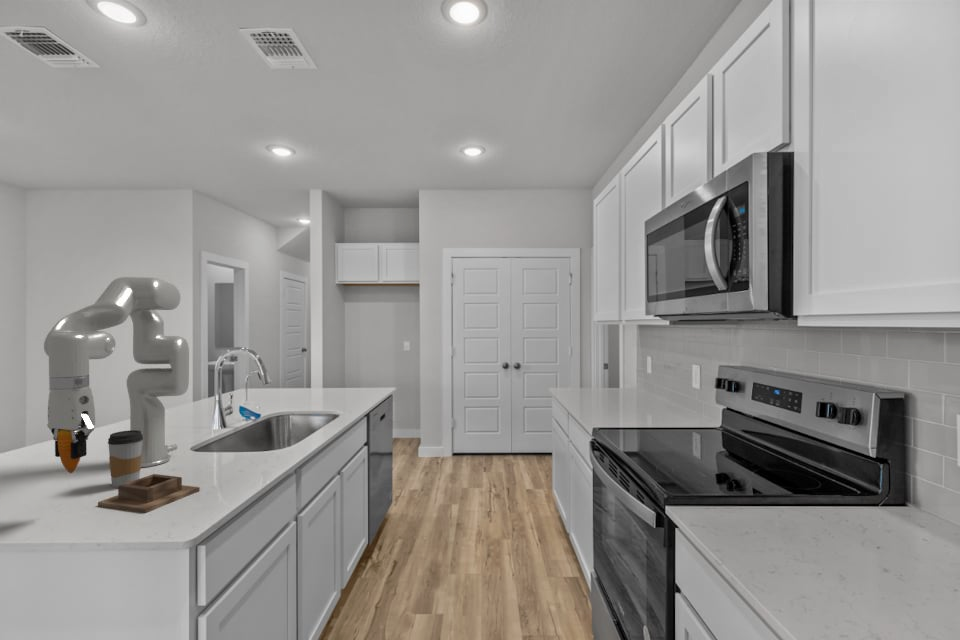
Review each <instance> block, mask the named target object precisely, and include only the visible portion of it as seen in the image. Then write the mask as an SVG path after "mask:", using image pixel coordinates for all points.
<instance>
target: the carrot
mask: <svg viewBox="0 0 960 640" xmlns="http://www.w3.org/2000/svg"><path fill="white" fill-rule="evenodd" d="M78 427H79V428H81V426H78ZM79 428H78V429H79ZM80 432H81V431H77V435H78V434H79V433H80ZM57 440H58V451H59V455H60V457H59V458H60V461H61V464H62V465H63V467H64V469H65V470H66V471H67V472H68V473H69V474H72V473H74V472H75V470H76V469H77V467H78V465H79V463H80V461H81V458H82V457H79V458H76V459H71V443H73V440H72V435H71V430H60V431H59V432H58V434H57ZM57 440H56V441H57Z"/></svg>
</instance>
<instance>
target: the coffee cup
mask: <svg viewBox="0 0 960 640" xmlns="http://www.w3.org/2000/svg"><path fill="white" fill-rule="evenodd" d="M142 440H143V435H142V434H141V431H139V430H123V431H118V432H112V433H111V434H109V438H108V439H107V445H108V454H109V458H108V459H109V471H110V477H111V486H112V487H113V488H114V489H118V486H119V485H122V484H125V483H128V482H131V481H134V480H137V479H140V475H141V474H140V473H141V468H142V467H141V455H142V452H141V450H142Z"/></svg>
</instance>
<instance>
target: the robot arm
mask: <svg viewBox="0 0 960 640" xmlns="http://www.w3.org/2000/svg"><path fill="white" fill-rule="evenodd" d="M180 303H181V292H180V290H179V289H178V288H177V286H175V284H172V283H171V282H168V281H166V280H163V279H159V278H157V277H143V276H139V277H137V276H123V277H117V278H115V279H113V280H112V281H111V283H109V285H108V286H107V287H106V288H105V289H104V291H103V292H102V294H100V296H99V297H98V299H97V300H96V301H95V302H94V303H93V304H91V305H87V306H85V307H83V308H80V309H78V310H76V311H73V312H71V313H69V314H67V315H65V316H64V317H63V318H61V319H59V320H58V321H57V322H56V323H55V324H54V326H53V327H52V328H51V329H50V331H49V332H48V333H47V335H46V337H45V339H44V342H43V351H44V353H45V354H46V356H47V357H48V385H49V388H48V391H49V394H48V403H47V428H48V429H49V430H50V432H51V433H52V435H53V436H52V439H53V441H54V451H55V452H54V454H55V455H54V456H55V457H57V458H60V455H59V451H58V440H57V434H58V432H59V431H60V430H71V435H72V440H73V443H71V459H76V458H79V457H81V458H83V457H85V456H87V440H89V436H90V435H91V433H92V432H94V430H95V427H94V426H95V425H96V410H95V401H94V396H93V392H92V388H91V387H90V360H102V359H106V358H107V357H109V356H111V355H112V354H113V352H114V351H115V349H116V340H115V338H114V336H113V335H112V334H111V333H109V332H107V331H103V330H105V329H106V330H107V329H110V328H113V327H116V326H117V327H118V326H119V325H121V324H123V323H125V322H126V320H127V319H128V317H130V318H131V321H132V330H133V334H132V354H133V355H132V357H133V359H134V361H135V362H136V363H137V364H141V365H170V367H165V368H163V367H162V368H161V367H158V368H157V367H155V368H153V367H151V368H149V367H148V368H139V369H135V370H133V371H132V372H130V373H129V374H128V376H127V378H126V388H127V393H128V398H129V407H130V408H129V409H130V410H129V411H130V412H129V413H130V415H129V416H130V417H129V418H130V420H129V421H130V423H129V425H130V426H129V429H130V430H139V431H141V434H142V435H143V440H142V450H141V452H142V455H141V467H140V468H146V467H148V468H149V467H153V466H158V465H162V464H165V463H166V462H169V461H170V460H171V455H170V454H169V453H170V452H172V451H176V450H177V449H178V445H177V444H172V445H166V444H165V441H166V439H165V438H166V423H165V422H166V421H165V420H166V417H165V415H166V411H165V410H166V409H165V406H164V404H163V403H162V402H161V400H160V399H159V398H158V397H178V396H183V395H184V394H186V392H187V391H188V389H189V382H190V378H189V377H190V347H189V343H188V341H187V339H186V338H184V337H182V336H179V335H165V331H164V330H165V327H164V325H165V324H164V322H165V321H164V319H163V318H162V316H161V315H160V314H159V312H157V311H173V310H174V309H177V308H178V306H180ZM79 427H81V428H79ZM78 428H79V429H78ZM130 430H129V431H130ZM77 431H81V432H80V433H79V434H78V435H77Z"/></svg>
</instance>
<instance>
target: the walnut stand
mask: <svg viewBox="0 0 960 640" xmlns="http://www.w3.org/2000/svg"><path fill="white" fill-rule="evenodd" d="M117 490H118V491H117V495H114V496H112V497H109V498H106V499H103V500H101V501H98V502H97V507H102V508H109V509H114V510H115V509H116V510H120V511H121V510H122V511H129V512H135V513H143V514H147V513H149V512H151V511H154V510H156V509H159V508H161V507H163V506H166V505H168V504H171V503H173V502H176V501H178V500H181V499H183V498H185V497H188V496H191V495H193V494H195V493H199V492H200V490H201V489H200V486H193V485H184V484H183V477H182V476H174V475H167V474H166V475H165V474H158V473H153V474H151V475H147V476H144V477H141V478H140V477H139V479H137V480H134V481H131V482H128V483H125V484H122V485H119V486H118V488H117Z"/></svg>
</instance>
